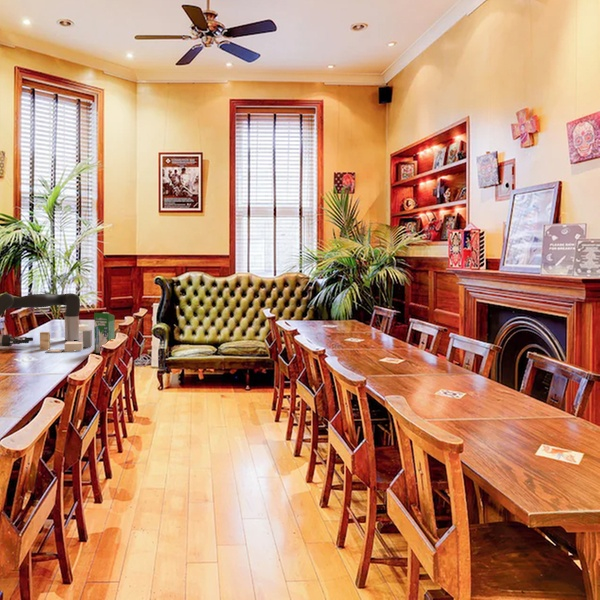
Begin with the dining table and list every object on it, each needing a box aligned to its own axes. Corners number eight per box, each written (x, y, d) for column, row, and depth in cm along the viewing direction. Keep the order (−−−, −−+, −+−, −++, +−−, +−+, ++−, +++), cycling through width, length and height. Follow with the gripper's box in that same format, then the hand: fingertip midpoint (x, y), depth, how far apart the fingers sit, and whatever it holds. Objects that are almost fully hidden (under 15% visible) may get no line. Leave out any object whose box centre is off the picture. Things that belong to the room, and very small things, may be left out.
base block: (66, 349, 353) (66, 341, 352) (83, 348, 355) (83, 341, 355) (64, 351, 343) (64, 343, 343) (81, 351, 346) (81, 343, 345)
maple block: (42, 348, 351) (42, 331, 350) (50, 348, 352) (50, 331, 351) (40, 350, 346) (39, 332, 345) (48, 350, 347) (48, 332, 346)
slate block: (84, 346, 363) (84, 330, 362) (92, 346, 364) (91, 329, 363) (82, 347, 358) (82, 330, 357) (90, 347, 359) (90, 330, 358)
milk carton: (114, 351, 348) (114, 311, 346) (108, 353, 339) (108, 313, 337) (101, 350, 349) (100, 311, 347) (94, 352, 340) (94, 312, 338)
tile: (49, 350, 345) (49, 349, 345) (64, 350, 347) (64, 349, 347) (45, 352, 336) (45, 351, 336) (60, 352, 338) (60, 351, 338)
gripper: (-1, 336, 337) (27, 335, 340) (6, 333, 351) (34, 332, 354) (-1, 348, 337) (27, 347, 340) (7, 344, 351) (34, 344, 354)
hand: (30, 340), depth 347 cm, fingers open, 8 cm apart
